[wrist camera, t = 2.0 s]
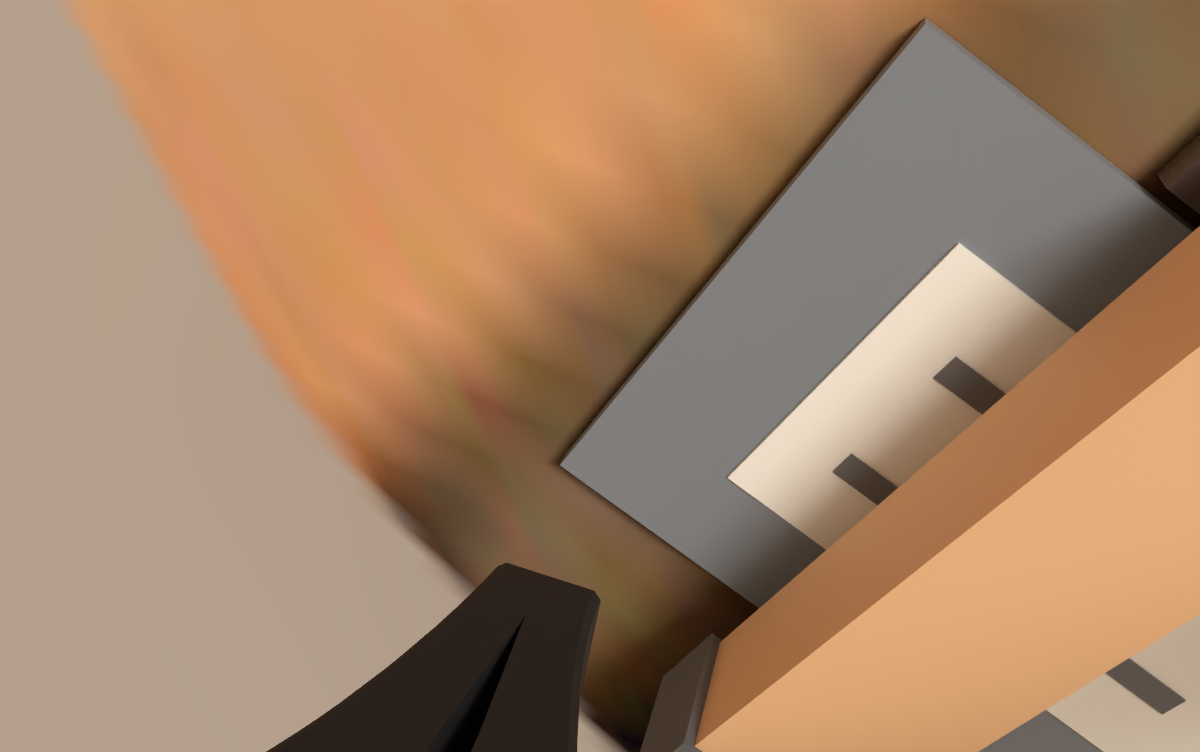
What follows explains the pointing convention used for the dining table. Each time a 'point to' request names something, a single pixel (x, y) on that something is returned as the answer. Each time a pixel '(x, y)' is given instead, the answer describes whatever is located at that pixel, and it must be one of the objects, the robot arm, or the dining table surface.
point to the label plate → (891, 350)
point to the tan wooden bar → (985, 561)
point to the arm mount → (1184, 174)
